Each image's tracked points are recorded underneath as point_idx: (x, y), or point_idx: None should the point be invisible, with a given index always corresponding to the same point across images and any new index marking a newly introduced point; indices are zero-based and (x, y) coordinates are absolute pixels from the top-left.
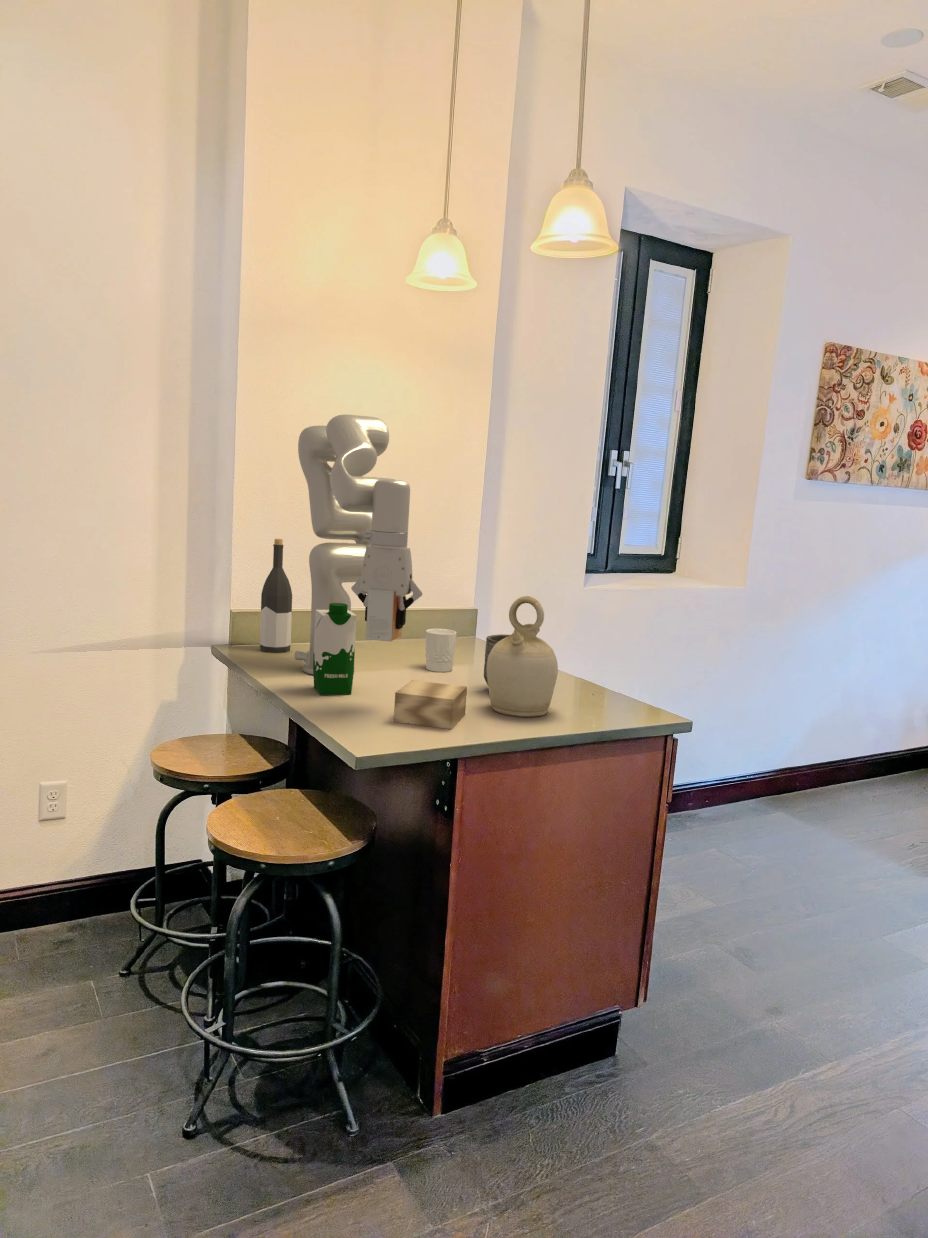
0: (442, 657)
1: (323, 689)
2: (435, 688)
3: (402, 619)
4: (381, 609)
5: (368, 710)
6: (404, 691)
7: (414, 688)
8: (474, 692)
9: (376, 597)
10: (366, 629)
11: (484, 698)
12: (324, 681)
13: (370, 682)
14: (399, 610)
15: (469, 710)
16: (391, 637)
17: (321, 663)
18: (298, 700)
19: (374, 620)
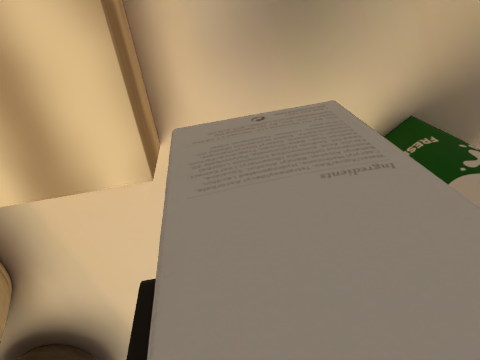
0: None
1: (413, 123)
2: (17, 126)
3: (142, 304)
4: (299, 233)
5: (242, 52)
6: (72, 5)
7: (75, 79)
8: (115, 332)
9: (475, 352)
10: (360, 120)
11: (68, 309)
12: (425, 132)
13: None
14: (147, 351)
15: (26, 210)
16: (171, 139)
17: (473, 153)
18: (452, 33)
19: (328, 155)
